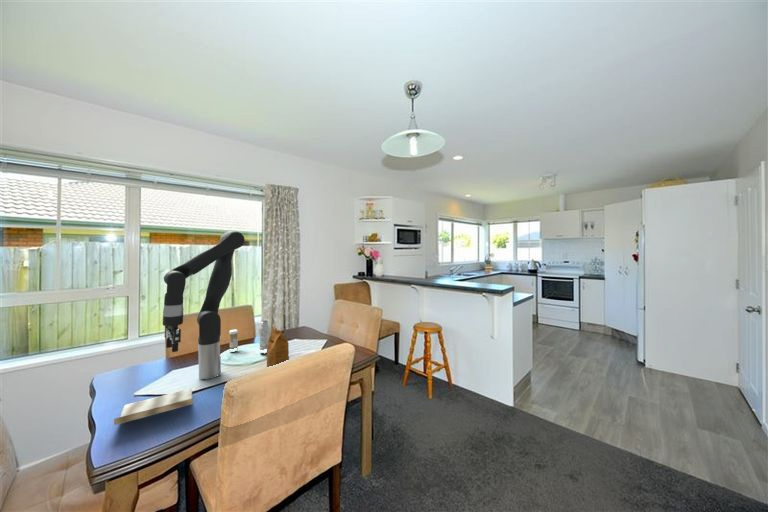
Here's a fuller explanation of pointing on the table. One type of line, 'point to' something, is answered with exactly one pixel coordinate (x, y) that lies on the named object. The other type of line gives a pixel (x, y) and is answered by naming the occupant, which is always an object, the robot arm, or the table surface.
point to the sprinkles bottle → (233, 339)
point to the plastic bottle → (264, 335)
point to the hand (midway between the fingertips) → (171, 349)
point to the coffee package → (277, 348)
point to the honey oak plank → (152, 411)
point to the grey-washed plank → (156, 402)
